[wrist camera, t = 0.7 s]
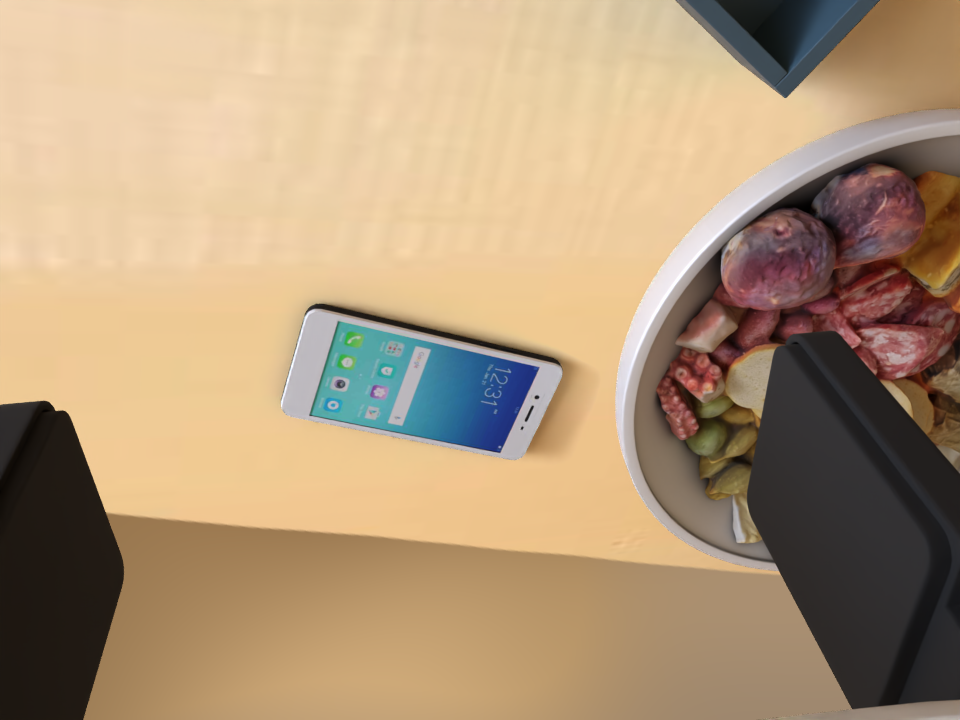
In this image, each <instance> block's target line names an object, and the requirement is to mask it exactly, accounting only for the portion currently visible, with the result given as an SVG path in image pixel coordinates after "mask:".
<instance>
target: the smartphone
mask: <svg viewBox="0 0 960 720" xmlns="http://www.w3.org/2000/svg"><path fill="white" fill-rule="evenodd" d="M562 373H563V369H562V366H561V365H560V363H559V362H558V360H556V359H554V358H551V357H547V356H543V355H538V354H534V353H530V352H525V351H521V350H517V349H513V348H508V347H504V346H500V345H496V344H491V343H487V342H483V341H479V340H474V339H470V338H466V337H461V336H457V335H453V334H449V333H444V332H440V331H436V330H432V329H427V328H423V327H419V326H415V325H410V324H406V323H402V322H397V321H393V320H389V319H385V318H380V317H376V316H372V315H368V314H363V313H359V312H355V311H350V310H346V309H342V308H338V307H333V306H329V305H325V304H315V305H313V306H311V307H309V308H308V310H307V311H306V313H305V316H304V320H303V323H302V327H301V331H300V334H299V338H298V341H297V345H296V348H295V352H294V355H293V359H292V363H291V366H290V370H289V373H288V377H287V380H286V384H285V388H284V391H283V395H282V398H281V408H282V410H283V412H284V413H285V414H286V415H288V416H290V417H294V418H299V419H304V420H309V421H314V422H320V423H325V424H330V425H335V426H340V427H345V428H350V429H355V430H361V431H366V432H371V433H376V434H381V435H386V436H391V437H396V438H402V439H407V440H412V441H417V442H422V443H427V444H432V445H437V446H442V447H448V448H453V449H458V450H463V451H468V452H473V453H478V454H483V455H489V456H494V457H499V458H504V459H509V460H517V459H519V458H522V457H523V455H524V454H525V453H526V451H527V449H528V447H529V444H530V442H531V440H532V438H533V436H534V434H535V432H536V430H537V428H538V426H539V424H540V422H541V419H542V417H543V415H544V413H545V411H546V409H547V407H548V405H549V403H550V401H551V399H552V397H553V394H554V392H555V390H556V388H557V386H558V384H559V382H560V380H561V378H562Z"/></svg>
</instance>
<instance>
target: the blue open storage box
mask: <svg viewBox="0 0 960 720" xmlns="http://www.w3.org/2000/svg"><path fill="white" fill-rule="evenodd" d="M676 1H677V2H678V3H679V4H680V5H681V6H682V7H683V8H684V9H685V10H686V11H687V12H688V13H689V14H690V15H691V16H692V17H693V18H694V19H695V20H696V21H697V22H698V23H699V24H700V25H701V26H702V27H703V28H704V29H705V30H706V31H707V32H708V33H709V34H710V35H711V36H713V37H714V38H715V39H716V40H717V41H718V42H719V43H720V44H721V45H722V46H723V47H724V48H725V49H726V50H727V51H728V52H729V53H730V54H731V55H732V56H733V57H734V58H735V59H736V60H737V61H738V62H739V63H740V64H741V65H743V66H744V67H745V68H747V69H748V70H749V71H751V72H752V73H753V74H754V75H756V76H757V77H758V78H760V79H761V80H762V81H763V82H765V83H766V84H767V85H769V86H770V87H771V88H772V89H774V90H775V91H776V92H778V93H779V94H780V95H782V96H783V97H784V98H787V97H788V95H789V94H790V93H791V92H792V91H793V90H794V89H795V88H796V87H797V86H798V85H799V84H800V83H801V82H802V81H803V80H804V79H805V78H806V77H807V76H808V75H809V74H810V73H811V72H812V71H813V69H814V68H815V67H816V66H817V65H818V64H819V63H820V62H821V61H822V60H823V59H824V58H825V57H826V56H827V55H828V54H829V53H830V52H831V51H832V50H833V49H834V48H835V47H836V46H837V44H838V43H839V42H840V41H841V40H842V39H843V38H844V37H845V36H846V35H847V34H848V33H849V32H850V31H851V30H852V29H853V28H854V27H855V26H856V25H857V24H858V23H859V22H860V21H861V20H862V18H863V17H864V16H865V15H866V14H867V13H868V12H869V11H870V10H871V9H872V8H873V7H874V6H875V5H876V4H877V3H878V2H879V1H880V0H676Z"/></svg>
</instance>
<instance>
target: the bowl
mask: <svg viewBox="0 0 960 720" xmlns="http://www.w3.org/2000/svg"><path fill="white" fill-rule="evenodd" d="M820 331H836V332H837V333H838V334H840V335H841V336H842V337H843V339H844V340H845V341H846V342H847V343H848V344H849V346H850V347H851V348H852V349H853V350H854V351H855V352H856V354H857V355H858V356H859V357H860V358H861V359H862V361H863V362H864V363H865V364H866V365H867V366H868V368H869V369H870V370H871V371H872V372H873V373H874V375H875V376H876V377H877V378H878V379H879V380H880V381H881V383H882V384H883V385H884V386H885V387H886V388H887V390H888V391H889V392H890V393H891V394H892V395H893V397H894V398H895V399H896V400H897V401H898V402H899V404H900V405H901V406H902V407H903V408H904V409H905V410H906V412H907V413H908V414H909V415H910V416H911V417H912V419H913V420H914V421H915V422H916V423H917V424H918V426H919V427H920V428H921V429H922V430H923V431H924V432H925V434H926V435H927V436H928V437H929V438H930V439H931V441H932V442H933V443H934V444H935V445H936V446H937V448H938V449H939V450H940V451H941V452H942V453H943V455H944V456H945V457H946V458H947V459H948V460H949V461H950V463H951V464H952V465H953V466H954V467H955V468H956V470H957V471H958V472H959V473H960V108H957V109H933V110H922V111H914V112H908V113H901V114H896V115H892V116H887V117H883V118H878V119H874V120H871V121H867V122H864V123H860V124H857V125H854V126H851V127H848V128H845V129H842V130H839V131H836V132H834V133H832V134H829V135H827V136H824V137H822V138H819V139H817V140H815V141H813V142H811V143H809V144H806V145H804V146H802V147H800V148H798V149H796V150H795V151H793V152H791V153H789V154H787V155H785V156H783V157H781V158H780V159H778V160H777V161H775V162H773V163H772V164H770V165H768V166H767V167H765V168H763V169H762V170H760V171H759V172H757V173H756V174H755V175H753V176H752V177H750V178H749V179H747V180H746V181H745V182H743V183H742V184H741V185H739V186H738V187H737V188H735V189H734V190H733V191H731V192H730V193H729V194H728V195H727V196H726V197H724V198H723V199H722V200H721V201H720V202H718V203H717V204H716V205H715V206H714V207H713V208H712V209H711V210H710V211H709V212H708V213H707V214H705V215H704V216H703V217H702V218H701V219H700V220H699V222H698V223H697V224H696V225H695V226H694V227H693V228H692V229H691V230H690V231H689V232H688V233H687V234H686V236H685V237H684V238H683V239H682V240H681V241H680V243H679V244H678V245H677V246H676V248H675V249H674V250H673V251H672V253H671V254H670V255H669V257H668V258H667V259H666V261H665V262H664V264H663V265H662V267H661V268H660V269H659V271H658V272H657V274H656V275H655V277H654V279H653V280H652V282H651V284H650V285H649V287H648V289H647V291H646V292H645V294H644V296H643V298H642V300H641V302H640V304H639V306H638V308H637V311H636V313H635V315H634V318H633V320H632V323H631V325H630V328H629V331H628V334H627V336H626V339H625V343H624V346H623V350H622V354H621V358H620V363H619V368H618V375H617V383H616V397H615V406H616V423H617V431H618V437H619V442H620V447H621V450H622V454H623V457H624V460H625V464H626V466H627V469H628V471H629V474H630V476H631V479H632V481H633V484H634V486H635V488H636V490H637V492H638V494H639V495H640V497H641V499H642V500H643V502H644V503H645V505H646V506H647V507H648V509H649V510H650V511H651V513H652V514H653V515H654V516H655V517H656V518H657V520H658V521H659V522H660V523H661V524H662V525H663V526H665V527H666V528H667V529H668V530H669V531H670V532H671V533H673V534H674V535H675V536H677V537H678V538H679V539H681V540H682V541H684V542H685V543H687V544H688V545H690V546H692V547H694V548H696V549H697V550H699V551H701V552H703V553H706V554H708V555H710V556H713V557H715V558H718V559H720V560H723V561H727V562H730V563H733V564H737V565H741V566H745V567H751V568H756V569H763V570H772V571H779V570H778V568H777V566H776V564H775V562H774V560H773V558H772V557H771V555H770V553H769V551H768V549H767V547H766V545H765V543H764V541H763V540H762V538H761V536H760V534H759V532H758V530H757V528H756V526H755V524H754V523H753V521H752V519H751V516H750V514H749V510H748V505H747V489H748V484H749V479H750V473H751V468H752V463H753V458H754V453H755V447H756V442H757V437H758V432H759V426H760V421H761V416H762V411H763V405H764V400H765V395H766V390H767V384H768V379H769V374H770V369H771V363H772V358H773V354H774V351H775V349H776V348H777V347H778V346H782V345H785V344H786V341H787V339H788V338H789V336H791V335H792V334H798V333H809V332H820Z"/></svg>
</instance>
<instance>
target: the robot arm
mask: <svg viewBox="0 0 960 720" xmlns="http://www.w3.org/2000/svg"><path fill="white" fill-rule="evenodd" d="M747 505H748V510H749V514H750V516H751V519H752V521H753V523H754V524H755V526H756V528H757V530H758V532H759V534H760V536H761V538H762V540H763V541H764V543H765V545H766V547H767V549H768V551H769V553H770V555H771V557H772V558H773V560H774V562H775V564H776V566H777V568H778V570H779V572H780V574H781V575H782V577H783V579H784V581H785V583H786V585H787V587H788V589H789V591H790V592H791V594H792V596H793V598H794V600H795V602H796V604H797V606H798V608H799V609H800V611H801V613H802V615H803V617H804V619H805V621H806V622H807V625H808V627H809V628H810V630H811V632H812V634H813V636H814V638H815V640H816V642H817V643H818V645H819V647H820V649H821V651H822V653H823V655H824V657H825V659H826V661H827V662H828V664H829V666H830V668H831V670H832V672H833V674H834V676H835V678H836V679H837V681H838V683H839V685H840V687H841V689H842V691H843V693H844V695H845V696H846V698H847V700H848V702H849V704H850V706H851V708H852V709H851V710H841V711H831V712H822V713H812V714H802V715H794V716H785V717H777V718H769V719H760V720H960V473H959V472H958V471H957V470H956V468H955V467H954V466H953V465H952V464H951V463H950V461H949V460H948V459H947V458H946V457H945V456H944V455H943V453H942V452H941V451H940V450H939V449H938V448H937V446H936V445H935V444H934V443H933V442H932V441H931V439H930V438H929V437H928V436H927V435H926V434H925V432H924V431H923V430H922V429H921V428H920V427H919V426H918V424H917V423H916V422H915V421H914V420H913V419H912V417H911V416H910V415H909V414H908V413H907V412H906V410H905V409H904V408H903V407H902V406H901V405H900V404H899V402H898V401H897V400H896V399H895V398H894V397H893V395H892V394H891V393H890V392H889V391H888V390H887V388H886V387H885V386H884V385H883V384H882V383H881V381H880V380H879V379H878V378H877V377H876V376H875V375H874V373H873V372H872V371H871V370H870V369H869V368H868V366H867V365H866V364H865V363H864V362H863V361H862V359H861V358H860V357H859V356H858V355H857V354H856V352H855V351H854V350H853V349H852V348H851V347H850V346H849V344H848V343H847V342H846V341H845V340H844V339H843V337H842V336H841V335H840V334H838V333H837V332H836V331H820V332H809V333H798V334H792V335H791V336H789V338H788V339H787V341H786V344H785V345H782V346H778V347H777V348H776V349H775V351H774V354H773V358H772V363H771V369H770V374H769V379H768V384H767V390H766V395H765V400H764V405H763V411H762V416H761V421H760V426H759V432H758V437H757V442H756V447H755V453H754V458H753V463H752V468H751V473H750V479H749V484H748V489H747ZM123 578H124V566H123V560H122V556H121V553H120V550H119V547H118V545H117V542H116V539H115V537H114V534H113V531H112V529H111V526H110V523H109V520H108V518H107V515H106V512H105V510H104V507H103V504H102V501H101V499H100V496H99V493H98V491H97V488H96V485H95V483H94V480H93V477H92V474H91V472H90V469H89V466H88V464H87V461H86V458H85V455H84V453H83V450H82V447H81V445H80V442H79V439H78V436H77V434H76V431H75V428H74V426H73V423H72V420H71V418H70V416H69V414H68V413H67V412H66V411H63V410H62V411H55V409H54V407H53V406H52V405H51V404H50V403H49V402H47V401H36V402H25V403H14V404H3V405H0V720H83V718H84V715H85V711H86V708H87V704H88V701H89V698H90V694H91V691H92V688H93V684H94V681H95V677H96V673H97V670H98V667H99V664H100V660H101V657H102V653H103V650H104V646H105V643H106V639H107V636H108V633H109V630H110V626H111V622H112V619H113V616H114V612H115V609H116V606H117V602H118V599H119V595H120V592H121V589H122V584H123Z"/></svg>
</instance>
